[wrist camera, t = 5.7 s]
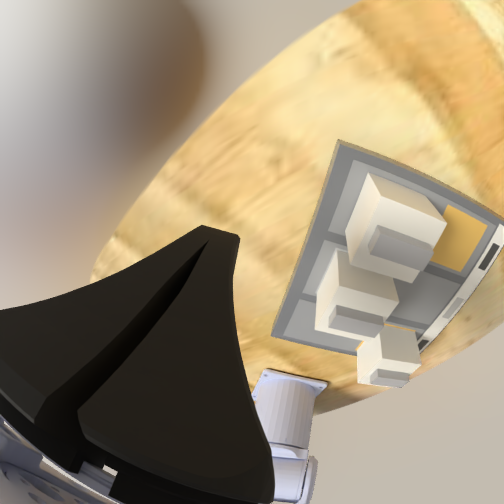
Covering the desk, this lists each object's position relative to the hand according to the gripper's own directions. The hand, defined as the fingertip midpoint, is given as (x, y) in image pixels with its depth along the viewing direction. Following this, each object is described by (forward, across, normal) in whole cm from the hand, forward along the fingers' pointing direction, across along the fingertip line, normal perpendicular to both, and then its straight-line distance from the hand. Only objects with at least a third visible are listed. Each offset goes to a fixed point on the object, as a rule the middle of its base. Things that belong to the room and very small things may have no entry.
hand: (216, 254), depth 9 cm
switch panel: (+10, -11, +5) cm, 16 cm away
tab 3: (+8, -14, +11) cm, 19 cm away
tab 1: (+8, -8, +5) cm, 12 cm away
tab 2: (+8, -8, 0) cm, 11 cm away
